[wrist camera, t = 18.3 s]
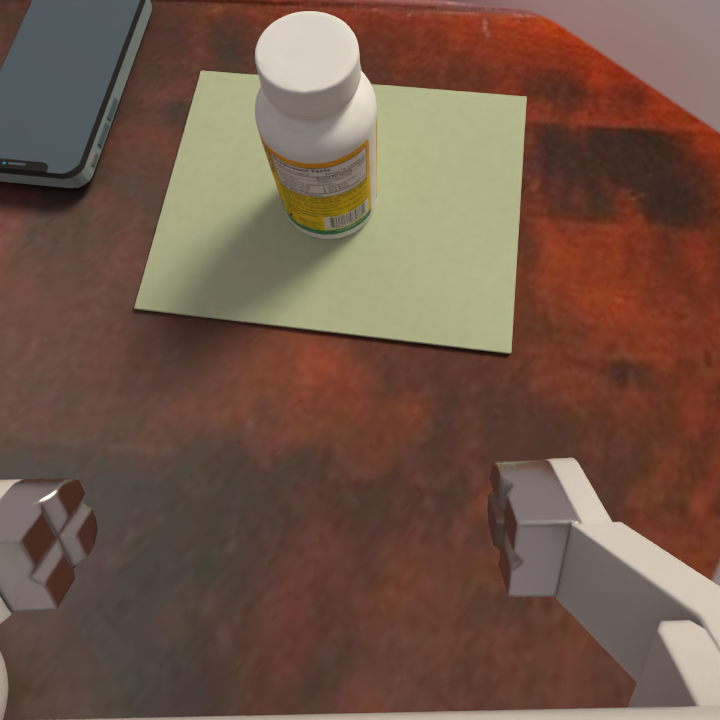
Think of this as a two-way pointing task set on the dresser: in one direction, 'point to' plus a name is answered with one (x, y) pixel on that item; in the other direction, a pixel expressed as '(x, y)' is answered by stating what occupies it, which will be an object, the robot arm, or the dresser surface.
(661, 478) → the dresser surface
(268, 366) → the dresser surface
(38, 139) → the smartphone
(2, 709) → the mug
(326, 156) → the supplement bottle
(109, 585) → the dresser surface
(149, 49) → the dresser surface
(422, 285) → the mat
